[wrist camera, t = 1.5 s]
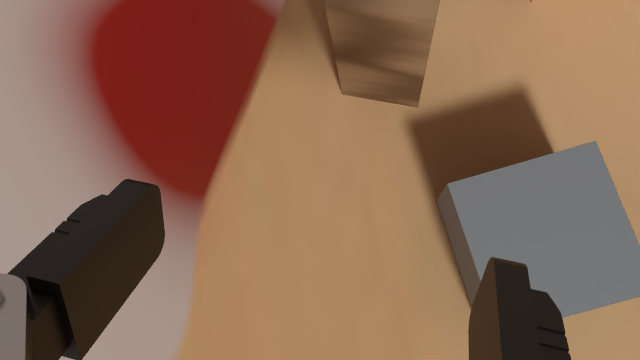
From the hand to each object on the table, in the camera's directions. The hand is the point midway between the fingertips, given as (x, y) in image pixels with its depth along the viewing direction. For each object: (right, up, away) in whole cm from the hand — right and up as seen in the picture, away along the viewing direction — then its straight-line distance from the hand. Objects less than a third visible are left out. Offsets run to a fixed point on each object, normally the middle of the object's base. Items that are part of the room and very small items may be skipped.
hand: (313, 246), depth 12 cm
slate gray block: (+11, -2, +15) cm, 19 cm away
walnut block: (+4, +8, +18) cm, 20 cm away
